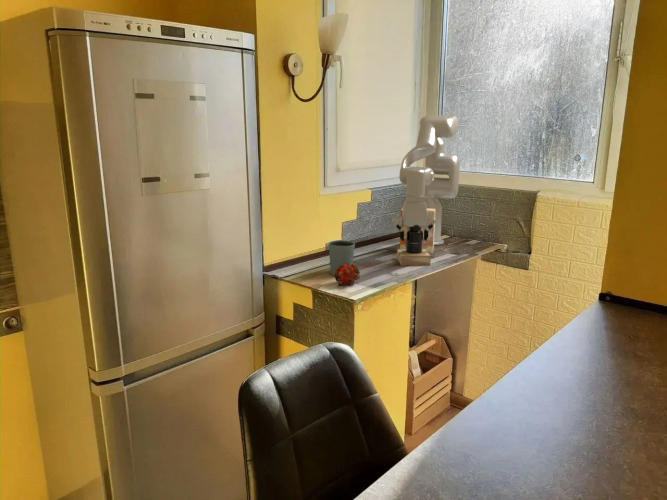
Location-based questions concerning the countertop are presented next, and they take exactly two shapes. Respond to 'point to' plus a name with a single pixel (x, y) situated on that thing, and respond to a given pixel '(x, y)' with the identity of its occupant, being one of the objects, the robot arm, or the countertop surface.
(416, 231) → the supplement bottle
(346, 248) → the grey-green cup
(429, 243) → the coffeecake box
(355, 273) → the dragon fruit
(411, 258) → the base
